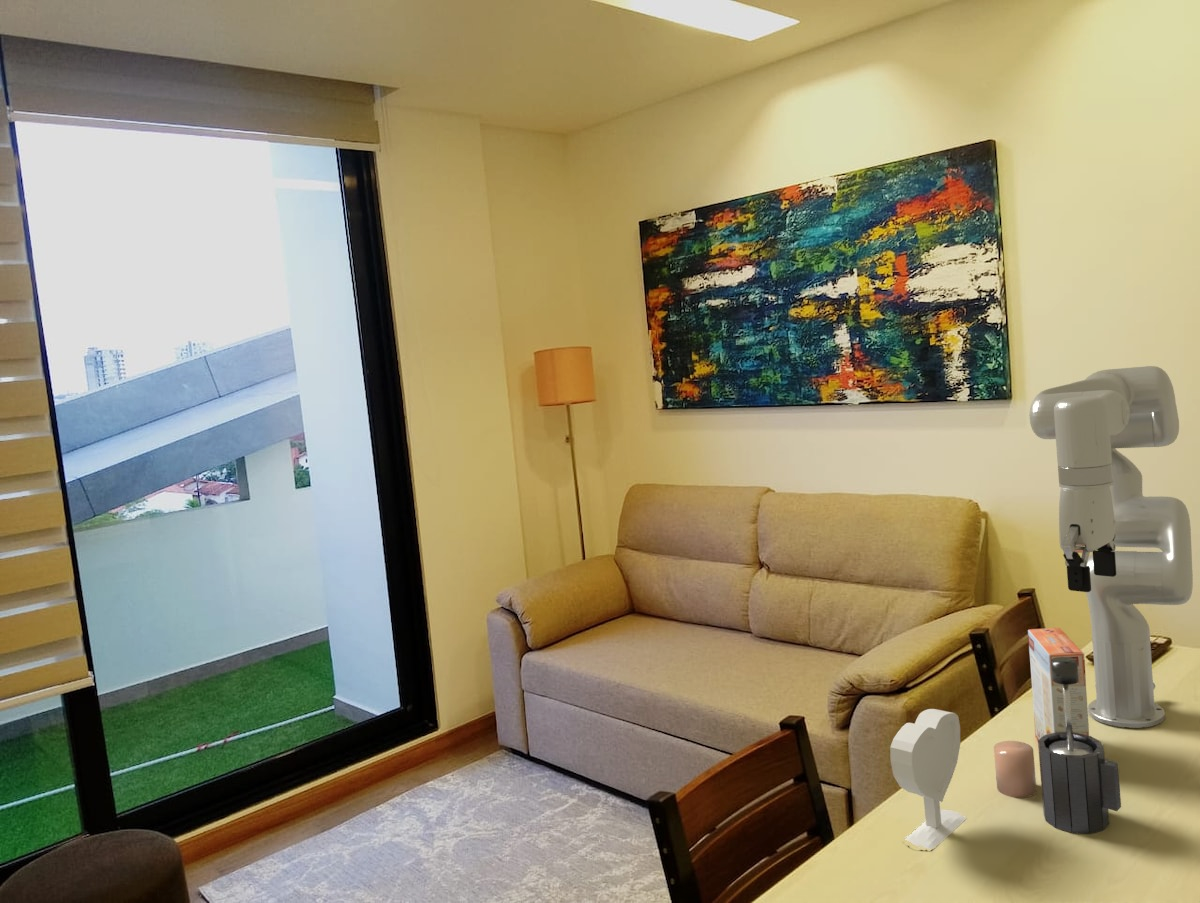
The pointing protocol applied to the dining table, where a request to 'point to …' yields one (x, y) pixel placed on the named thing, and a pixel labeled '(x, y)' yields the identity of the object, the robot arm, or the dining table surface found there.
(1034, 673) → the cracker box
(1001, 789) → the pink rounded cylinder
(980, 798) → the dining table surface
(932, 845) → the heart sculpture
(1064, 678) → the plunger
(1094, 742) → the grey paneled mug
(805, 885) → the dining table surface
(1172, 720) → the dining table surface
